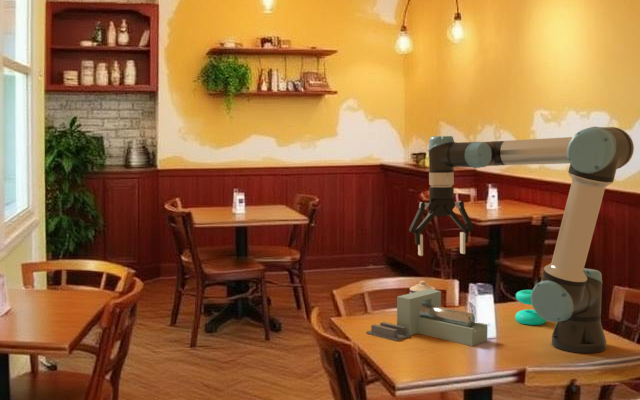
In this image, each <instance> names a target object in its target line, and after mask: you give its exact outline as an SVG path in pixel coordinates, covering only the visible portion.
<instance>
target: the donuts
mask: <svg viewBox="0 0 640 400" xmlns="http://www.w3.org/2000/svg"><path fill="white" fill-rule="evenodd" d="M532 290H533V289H522V290H519V291H517V292H516V293H515V298H516V300H517V302H519V303H521V304H523V305H528V306H529V305H530V306H531V305H532V303H531V292H532ZM514 316H515V317H514V318H515V321H516V322H517V323H519V324H523V325H527V326H540V325H543V324H546V322H547V320H545V319H543V318H542V317H540V316H539V315H538V314H537V313H536V311H535V309H522V310H519V311H517V312H516V314H515V315H514Z"/></svg>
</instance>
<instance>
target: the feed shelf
mask: <svg viewBox="0 0 640 400" xmlns="http://www.w3.org/2000/svg"><path fill="white" fill-rule="evenodd" d="M475 322H476V321H475ZM475 322H474V325H473V326H472V327H471V328H469V327H464V326H460V325H455V324H451V323H446V322H442V321H437V320H432V319H428V318H423V317H418V333H417V334H420V335H422V336H423V335H425V336H428V337H433V338H436V339H441V340H445V341H449V342H454V343H458V344H462V345H467V346H470V347H474V346H476V345H479V344H482V343H484V341H485V342H488V324H487V323H481V322H478V323H475Z"/></svg>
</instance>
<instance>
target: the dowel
mask: <svg viewBox="0 0 640 400" xmlns="http://www.w3.org/2000/svg"><path fill="white" fill-rule="evenodd" d="M420 317H423V318H428V319H432V320H437V321H442V322H446V323H451V324H455V325H460V326H464V327H469V328H471V327H472V326H473V325H474V322H476V318H475V314H474V313H472V312H467V311H463V310H457V309H453V308H449V307H443V306H441V307H439V306H434V305H429V304H424V303H420Z"/></svg>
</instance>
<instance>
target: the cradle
mask: <svg viewBox="0 0 640 400" xmlns="http://www.w3.org/2000/svg"><path fill="white" fill-rule="evenodd" d="M370 327H371V328H370V329H371V330H367V331H366V332H365V333H366V334H368V335H370V336H374V337H379V338H382V339H386V340H390V341H395V342H397V341H401V340H404V339H408V338H411V337H412V335H410V334H406V327H404V326H399V325H397V324H395V323H389V322H386V321H382V322H380V323H379V324H371V326H370Z"/></svg>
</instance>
